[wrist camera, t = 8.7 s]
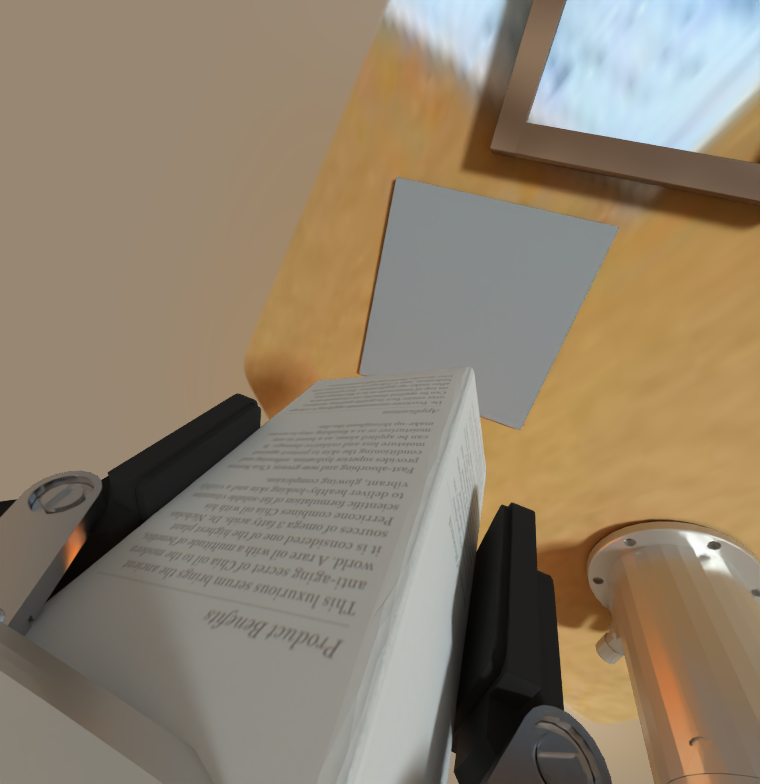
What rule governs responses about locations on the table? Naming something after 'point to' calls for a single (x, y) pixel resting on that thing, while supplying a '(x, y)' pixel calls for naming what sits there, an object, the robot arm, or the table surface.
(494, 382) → the rubber mat
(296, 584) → the skincare box
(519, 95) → the brown square frame
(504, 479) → the table surface
